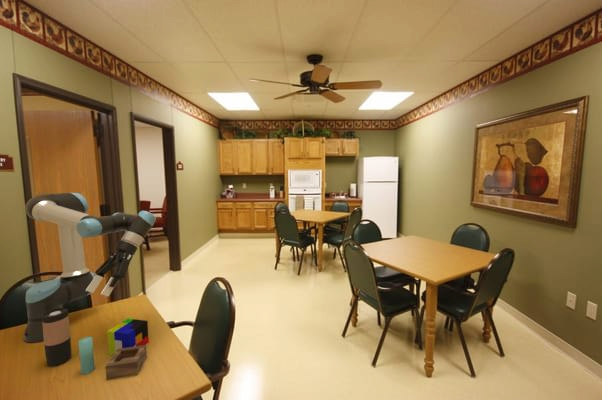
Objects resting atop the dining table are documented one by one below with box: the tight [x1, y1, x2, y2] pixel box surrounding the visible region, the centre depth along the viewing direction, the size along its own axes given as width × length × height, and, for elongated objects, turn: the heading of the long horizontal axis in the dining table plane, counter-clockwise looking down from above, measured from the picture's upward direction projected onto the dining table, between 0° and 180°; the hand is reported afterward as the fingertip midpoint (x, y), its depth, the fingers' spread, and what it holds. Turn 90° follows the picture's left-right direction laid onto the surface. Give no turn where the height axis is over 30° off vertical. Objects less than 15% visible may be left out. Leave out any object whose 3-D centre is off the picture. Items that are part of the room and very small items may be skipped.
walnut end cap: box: [104, 344, 148, 380], centre depth 101 cm, size 10×10×5 cm
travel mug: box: [42, 307, 72, 368], centre depth 104 cm, size 8×8×20 cm
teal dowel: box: [78, 336, 96, 375], centre depth 99 cm, size 4×4×12 cm
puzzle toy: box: [106, 318, 150, 356], centre depth 112 cm, size 10×10×10 cm
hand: (96, 293), depth 103 cm, fingers open, 13 cm apart
